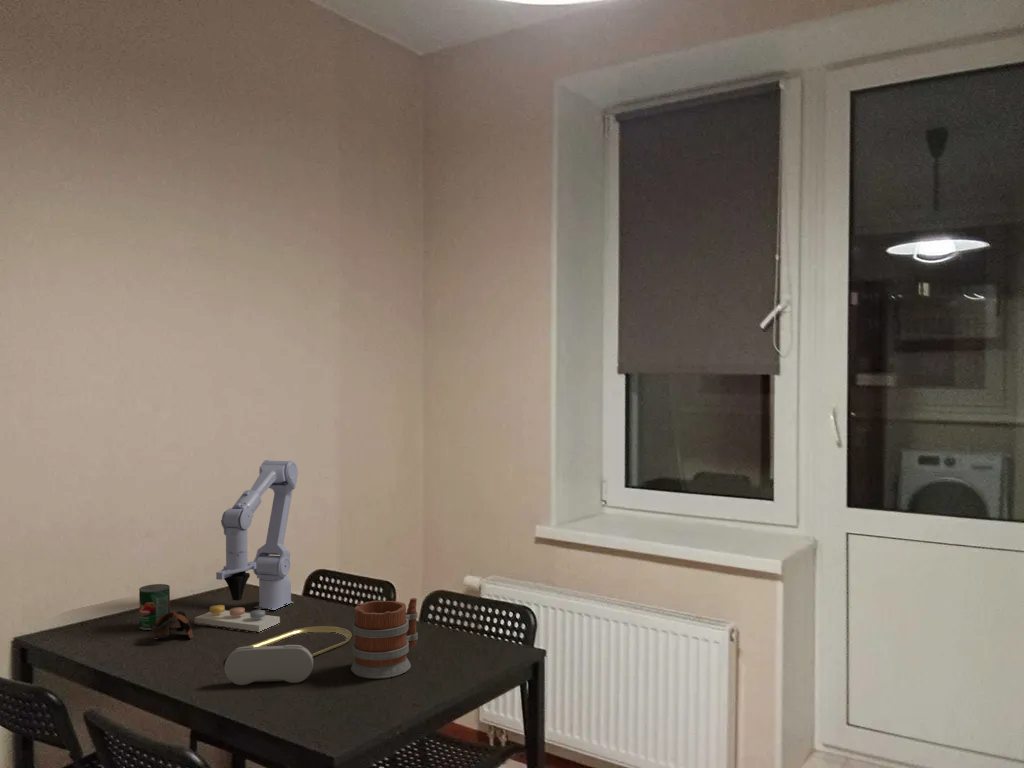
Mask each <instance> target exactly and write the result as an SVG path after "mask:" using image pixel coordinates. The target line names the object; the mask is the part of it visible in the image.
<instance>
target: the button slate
mask: <svg viewBox="0 0 1024 768" xmlns="http://www.w3.org/2000/svg"><path fill="white" fill-rule="evenodd" d="M249 613H250V617H251V618H261V617H264V616H265V615H266V610H261V609H253V610H251V611H250V612H249Z"/></svg>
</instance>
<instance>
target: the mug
mask: <svg viewBox="0 0 1024 768" xmlns="http://www.w3.org/2000/svg"><path fill="white" fill-rule="evenodd" d="M417 600H418V599H417V598H415V597H411V598H410V599H409V603H408V607H407V605H406V603H404V602H400V601H397V600H396V601H395V600H371V601H367V602H363V603H357V605H356V606H355V608H354V621H352V633H353V634H354V642H353V644H352V654H353V655H352V656H354V657H355V658H354V661H353V663H352V664H351V667H350V671H351V672H352V673H353V674H354V676H356V677H360V678H362V679H363V678H364V679H367V680H368V679H369V680H370V679H371V680H385V679H390V678H391V677H392V678H394V677H398V676H401V674H402V675H404V674H405V673H407V672H408V671H409V670H410V668H411V666H412V665H411V662H410V660H409V659H408V657H407V654H408V653H409V651H410V649H414V648H415V647H416V644H417V641H418V639H419V638H418V637H419V636H418V634H419V633H418V632H417V619H418V617H419V616H418V615H419V613H418V612H417V602H418V601H417ZM403 673H404V674H403Z"/></svg>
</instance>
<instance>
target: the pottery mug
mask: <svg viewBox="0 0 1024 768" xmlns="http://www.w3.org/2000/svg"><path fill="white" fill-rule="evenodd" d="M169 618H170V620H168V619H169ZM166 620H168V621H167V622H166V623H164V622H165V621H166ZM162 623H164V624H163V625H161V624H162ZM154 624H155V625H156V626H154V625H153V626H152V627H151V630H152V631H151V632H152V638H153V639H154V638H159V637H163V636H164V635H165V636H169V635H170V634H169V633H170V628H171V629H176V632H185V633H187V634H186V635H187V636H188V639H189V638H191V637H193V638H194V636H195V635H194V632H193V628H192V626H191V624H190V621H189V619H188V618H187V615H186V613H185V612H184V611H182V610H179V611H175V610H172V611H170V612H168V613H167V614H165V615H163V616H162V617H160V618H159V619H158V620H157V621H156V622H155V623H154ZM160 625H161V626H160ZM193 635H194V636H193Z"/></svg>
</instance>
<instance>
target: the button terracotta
mask: <svg viewBox="0 0 1024 768" xmlns="http://www.w3.org/2000/svg"><path fill="white" fill-rule="evenodd" d="M229 611H230V615H233V616H237V615H242V614H244V613H246V612H245V611H246V609H245V607H241V606H238V607H236V606H235V607H232V608H230V609H229Z"/></svg>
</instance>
